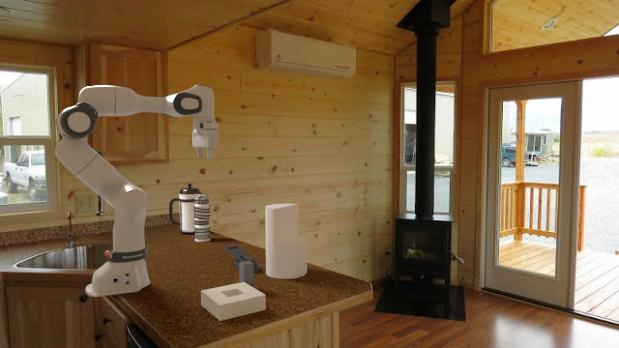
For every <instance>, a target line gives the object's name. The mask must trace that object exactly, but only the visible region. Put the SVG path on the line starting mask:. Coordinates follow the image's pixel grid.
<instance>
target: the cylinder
mask: <svg viewBox="0 0 619 348" xmlns="http://www.w3.org/2000/svg"><path fill="white" fill-rule="evenodd" d="M264 211H265V274H266V275H267V276H268V277H269V278H274V279H278V280H281V279H282V280H290V279H292V280H293V279H298V277H299V278H302V277H304V276H306V275H307V274H308V240H307V238H306V237H304V236H299V203H275V204H274V203H273V204H269V205H266V206H265V209H264ZM306 273H307V274H306ZM305 274H306V275H305ZM301 276H302V277H301Z"/></svg>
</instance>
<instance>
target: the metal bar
mask: <svg viewBox="0 0 619 348" xmlns="http://www.w3.org/2000/svg"><path fill="white" fill-rule="evenodd" d="M238 273H239V274H238V275H239V282H238V283H241V282H245V283H247V284H248V285H250V286H252V287H253V288H255V273H254V263H253V262H251V261H244V262H239V270H238Z"/></svg>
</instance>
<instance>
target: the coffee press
mask: <svg viewBox="0 0 619 348" xmlns="http://www.w3.org/2000/svg"><path fill="white" fill-rule="evenodd" d="M178 195H179V197H178V198H177V197H174V198H172V199H171V200H170V201H169V203H168V217H169V221H170V223H171V224H172V225H175V226H176V225H177V226H180V230H179V232H178V235H180V236H181V235H183V234H184V233H194V234H195V233H196V232H195V217H194V215H195V214H194V212H195V211H194V206H195V199H194V198H196V196H198V195H203V193H202V190H201V189H200V188H199V187H196V186H192V183H191V182H189V183H187V187H182V188H180V189H179V191H178ZM174 202H179V221H175V220H174V215H173V211H174V210H173V204H174Z"/></svg>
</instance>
